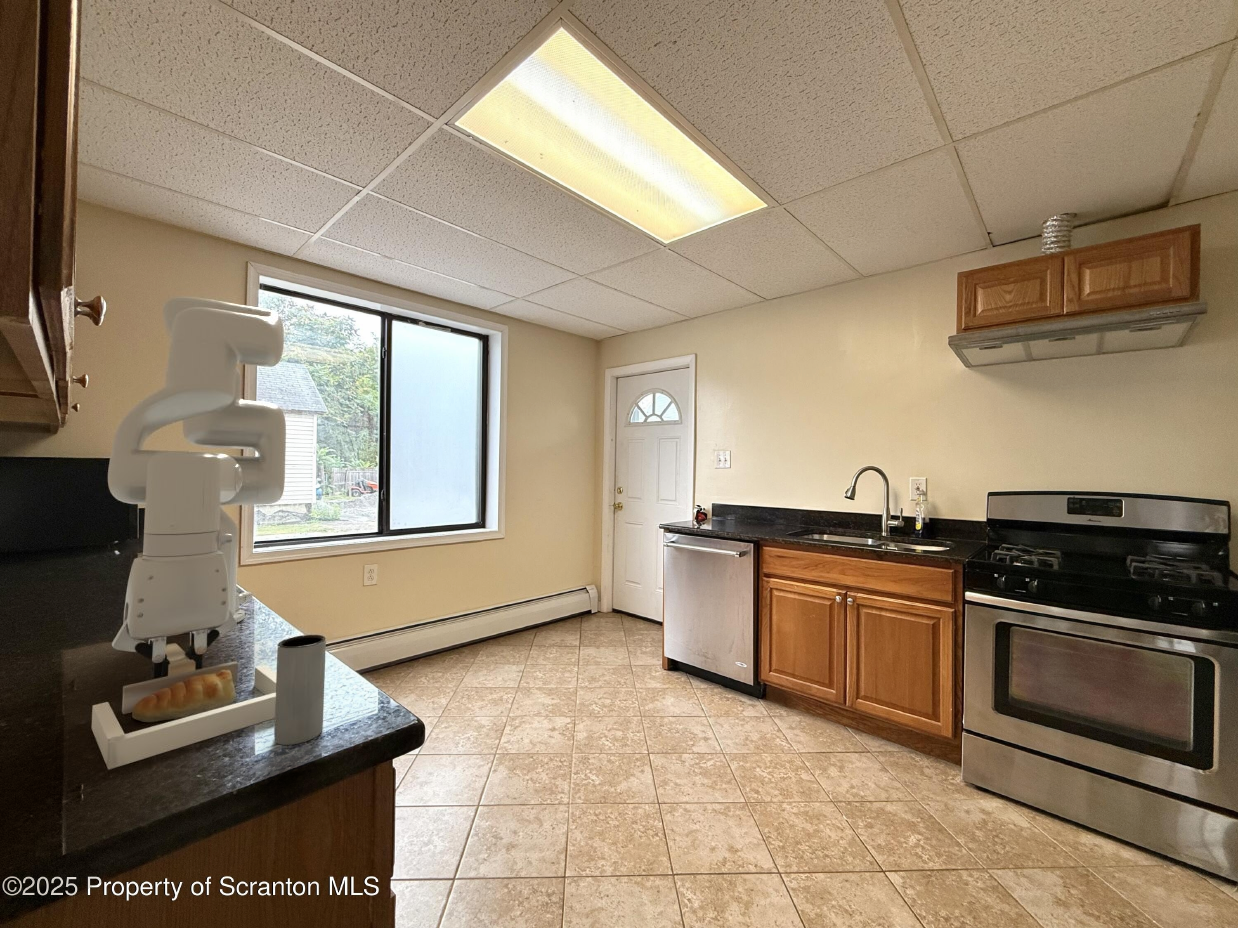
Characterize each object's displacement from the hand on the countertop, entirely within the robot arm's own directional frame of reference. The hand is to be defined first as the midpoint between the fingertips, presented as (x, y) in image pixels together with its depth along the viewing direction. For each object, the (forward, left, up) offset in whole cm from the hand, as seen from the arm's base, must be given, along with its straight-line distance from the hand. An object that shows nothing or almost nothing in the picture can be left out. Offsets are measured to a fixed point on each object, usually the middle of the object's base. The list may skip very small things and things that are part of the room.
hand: (176, 685), depth 66 cm
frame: (+7, +9, -1) cm, 11 cm away
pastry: (+4, +6, -1) cm, 8 cm away
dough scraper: (-2, -2, -1) cm, 3 cm away
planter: (+10, +23, -1) cm, 25 cm away
